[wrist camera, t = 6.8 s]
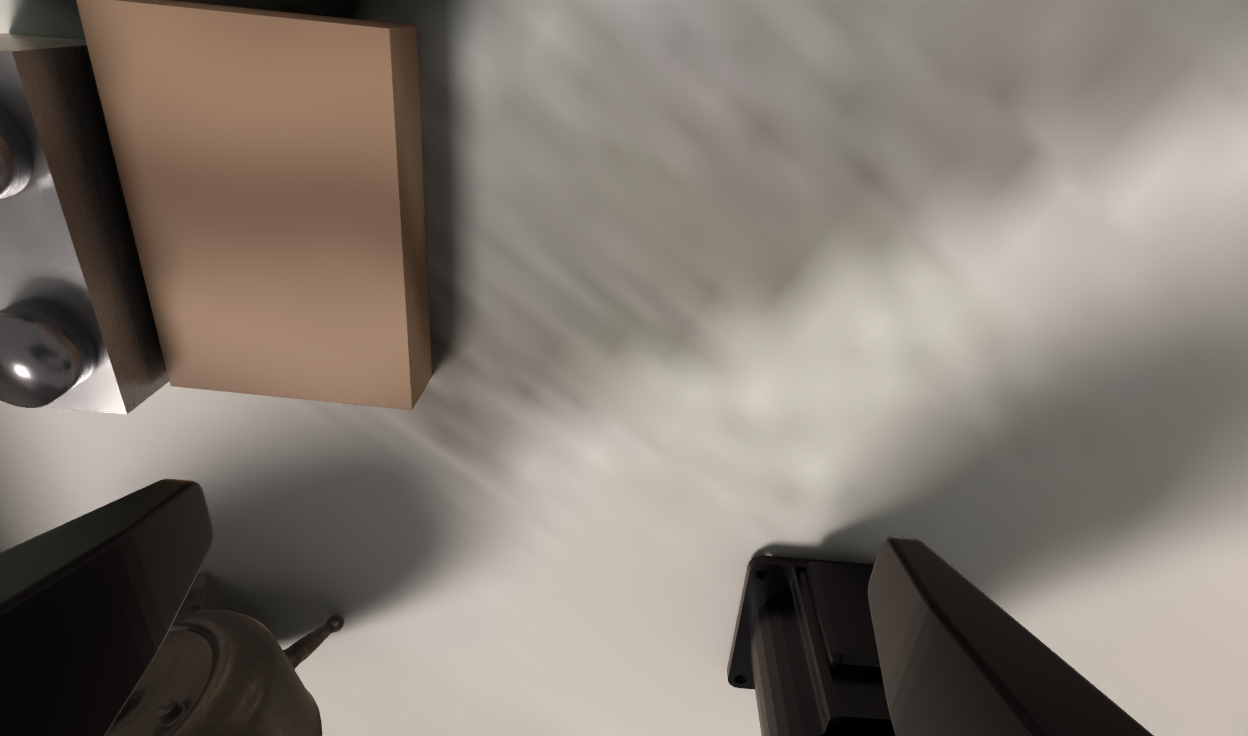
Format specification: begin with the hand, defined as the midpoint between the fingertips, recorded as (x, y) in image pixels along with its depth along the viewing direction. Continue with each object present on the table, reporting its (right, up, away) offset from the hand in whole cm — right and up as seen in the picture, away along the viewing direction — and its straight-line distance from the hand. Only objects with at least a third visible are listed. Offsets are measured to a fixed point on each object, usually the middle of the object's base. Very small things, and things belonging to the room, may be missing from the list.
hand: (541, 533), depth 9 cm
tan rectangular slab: (-8, +7, +11) cm, 15 cm away
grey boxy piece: (-13, +7, +11) cm, 18 cm away
